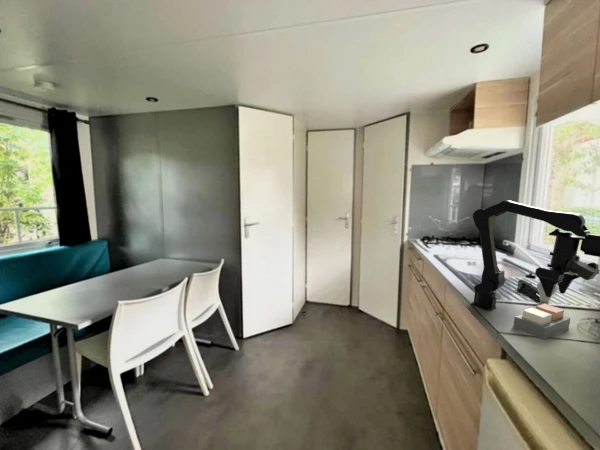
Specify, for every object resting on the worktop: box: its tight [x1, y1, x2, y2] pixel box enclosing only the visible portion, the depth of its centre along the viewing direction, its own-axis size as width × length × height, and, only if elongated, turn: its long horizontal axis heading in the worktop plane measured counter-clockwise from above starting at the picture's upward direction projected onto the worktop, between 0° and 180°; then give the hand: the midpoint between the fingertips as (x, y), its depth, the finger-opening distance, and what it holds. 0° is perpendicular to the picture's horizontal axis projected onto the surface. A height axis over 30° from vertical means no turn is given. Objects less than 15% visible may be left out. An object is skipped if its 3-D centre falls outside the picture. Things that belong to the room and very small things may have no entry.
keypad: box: [512, 313, 571, 341], centre depth 96 cm, size 9×17×4 cm, turn 117°
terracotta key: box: [535, 303, 565, 321], centre depth 98 cm, size 6×6×4 cm
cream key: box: [522, 307, 552, 326], centre depth 94 cm, size 6×6×4 cm
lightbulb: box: [536, 281, 558, 305], centre depth 114 cm, size 6×6×11 cm
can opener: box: [516, 279, 540, 303], centre depth 125 cm, size 18×7×6 cm, turn 169°
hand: (555, 295), depth 95 cm, fingers open, 9 cm apart
